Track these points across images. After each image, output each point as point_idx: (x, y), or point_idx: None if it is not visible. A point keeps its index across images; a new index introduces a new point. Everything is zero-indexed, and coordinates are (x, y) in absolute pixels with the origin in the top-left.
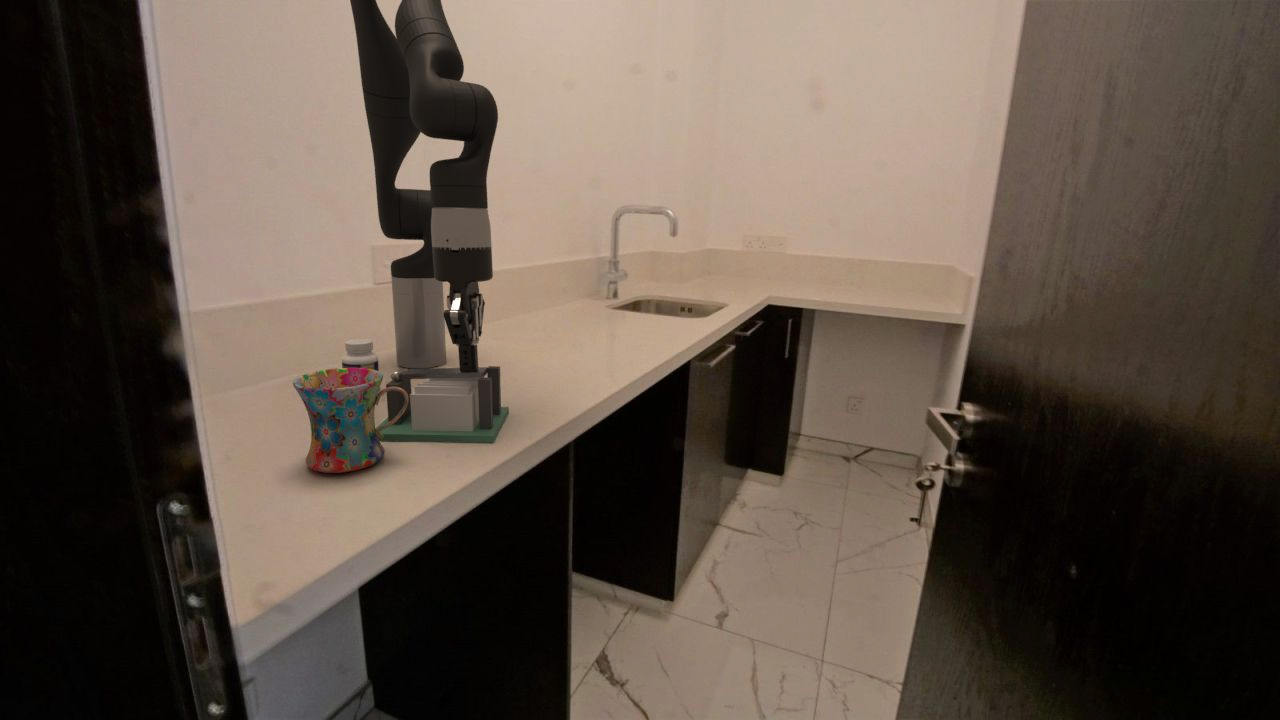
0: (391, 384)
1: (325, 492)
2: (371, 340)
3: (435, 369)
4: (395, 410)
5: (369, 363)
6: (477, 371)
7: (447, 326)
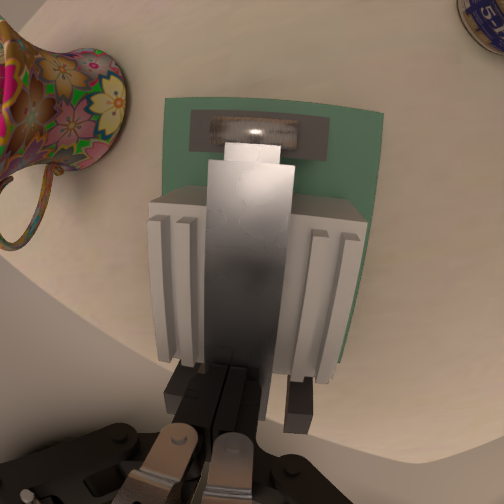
0: (194, 127)
1: None
2: None
3: (264, 279)
4: None
5: None
6: None
7: (28, 456)
